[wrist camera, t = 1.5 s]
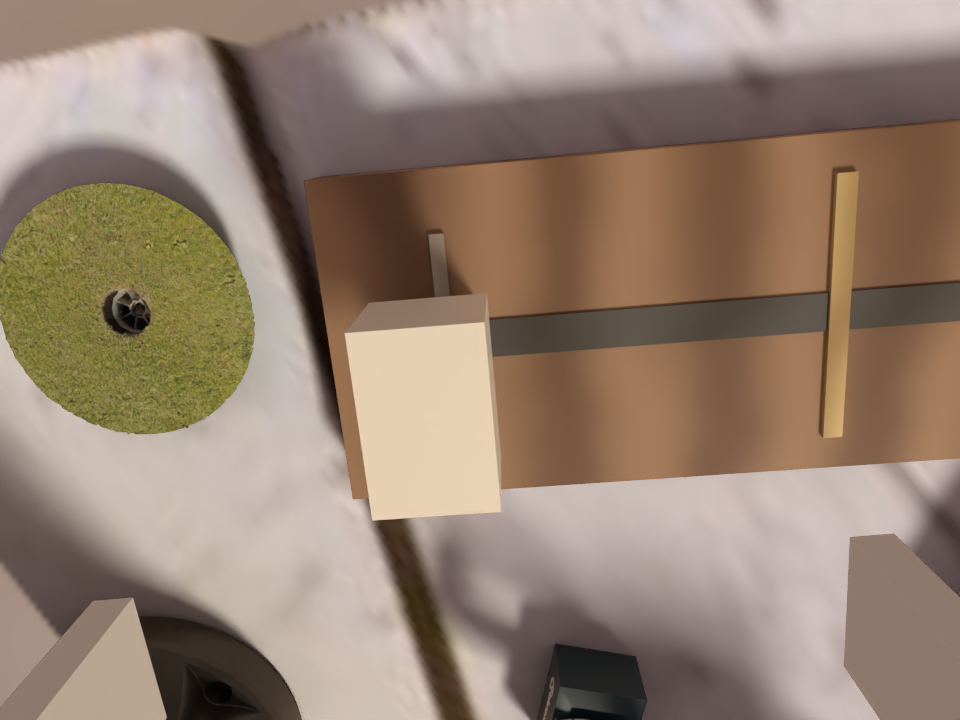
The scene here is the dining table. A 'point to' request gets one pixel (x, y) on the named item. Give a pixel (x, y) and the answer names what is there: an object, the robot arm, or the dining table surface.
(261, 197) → the dining table surface
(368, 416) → the fader knob
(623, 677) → the watch
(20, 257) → the mat
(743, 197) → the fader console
